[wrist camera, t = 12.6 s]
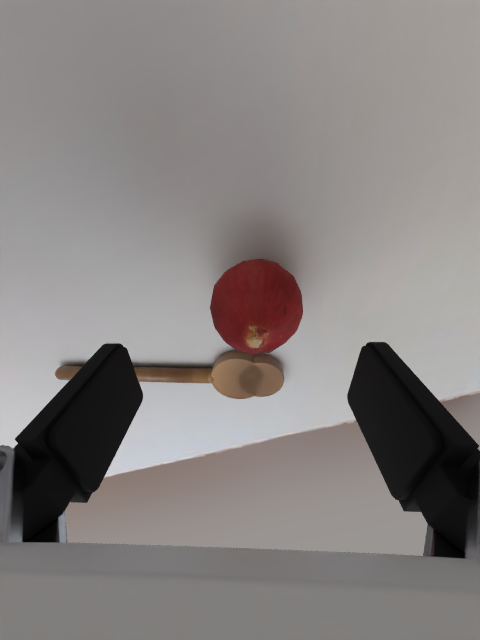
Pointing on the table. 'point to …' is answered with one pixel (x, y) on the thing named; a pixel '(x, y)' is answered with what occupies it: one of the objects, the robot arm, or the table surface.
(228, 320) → the onion
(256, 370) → the spoon
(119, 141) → the table surface
